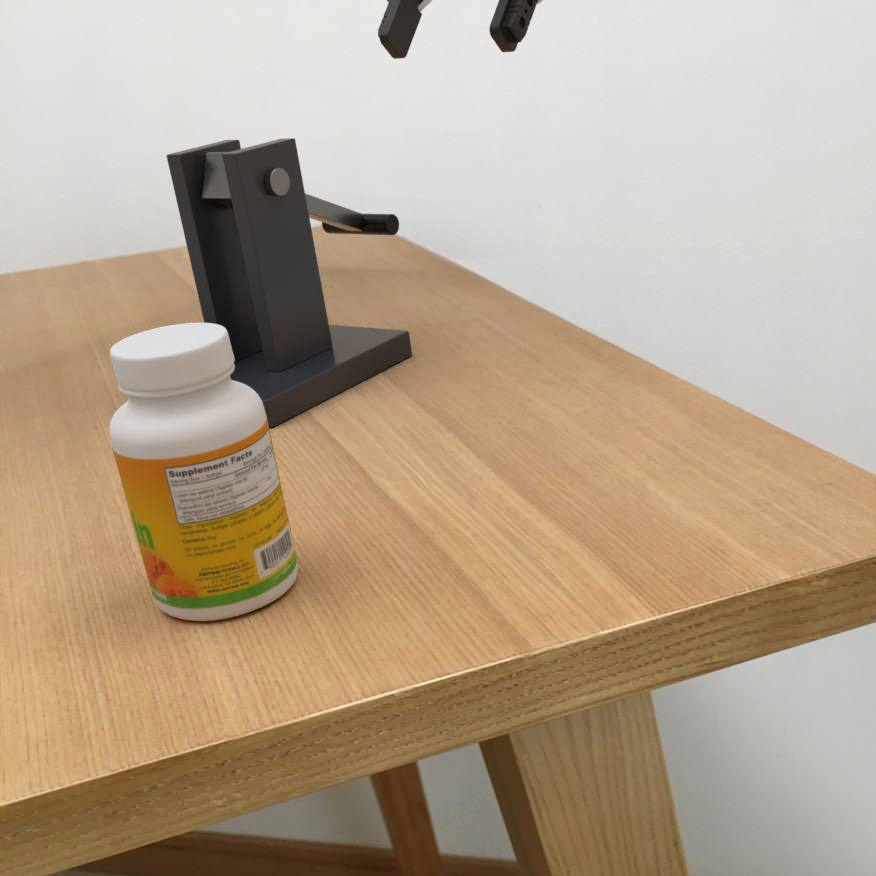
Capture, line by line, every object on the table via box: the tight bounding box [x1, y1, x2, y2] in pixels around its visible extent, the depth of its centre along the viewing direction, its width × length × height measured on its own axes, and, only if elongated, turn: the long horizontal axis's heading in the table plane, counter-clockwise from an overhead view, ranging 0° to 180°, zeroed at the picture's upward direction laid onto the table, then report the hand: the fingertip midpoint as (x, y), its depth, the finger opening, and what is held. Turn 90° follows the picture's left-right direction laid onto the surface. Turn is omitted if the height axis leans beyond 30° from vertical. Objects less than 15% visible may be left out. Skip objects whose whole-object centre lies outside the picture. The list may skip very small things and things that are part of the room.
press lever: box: [202, 152, 400, 236], centre depth 68 cm, size 12×5×2 cm, turn 149°
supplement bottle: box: [108, 322, 299, 622], centre depth 44 cm, size 5×5×10 cm
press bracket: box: [166, 137, 413, 428], centre depth 66 cm, size 12×10×13 cm
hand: (444, 47), depth 77 cm, fingers open, 8 cm apart
